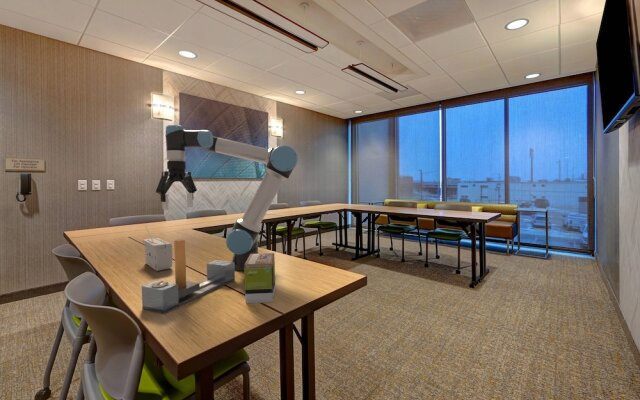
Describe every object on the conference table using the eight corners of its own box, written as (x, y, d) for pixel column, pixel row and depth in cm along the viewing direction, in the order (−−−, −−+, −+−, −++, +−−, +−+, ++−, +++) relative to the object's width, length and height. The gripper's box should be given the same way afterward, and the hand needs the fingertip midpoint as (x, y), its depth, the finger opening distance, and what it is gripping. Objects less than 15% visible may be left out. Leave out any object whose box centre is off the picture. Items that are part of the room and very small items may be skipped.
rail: (216, 277, 134) (216, 258, 133) (234, 280, 130) (234, 260, 129) (142, 309, 100) (141, 283, 100) (163, 314, 97) (162, 287, 96)
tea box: (250, 288, 120) (250, 252, 119) (275, 288, 121) (275, 252, 120) (244, 304, 105) (243, 263, 104) (273, 303, 106) (272, 262, 105)
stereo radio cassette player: (173, 269, 146) (172, 229, 145) (155, 272, 141) (153, 231, 139) (160, 261, 161) (158, 224, 160) (143, 263, 155) (141, 226, 154)
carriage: (183, 286, 115) (182, 237, 114) (199, 289, 112) (198, 238, 111) (161, 295, 106) (159, 242, 105) (178, 299, 103) (176, 244, 102)
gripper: (191, 162, 145) (193, 205, 146) (144, 159, 122) (147, 210, 123) (203, 161, 142) (205, 205, 143) (157, 158, 119) (160, 210, 120)
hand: (178, 208), depth 133 cm, fingers open, 13 cm apart
